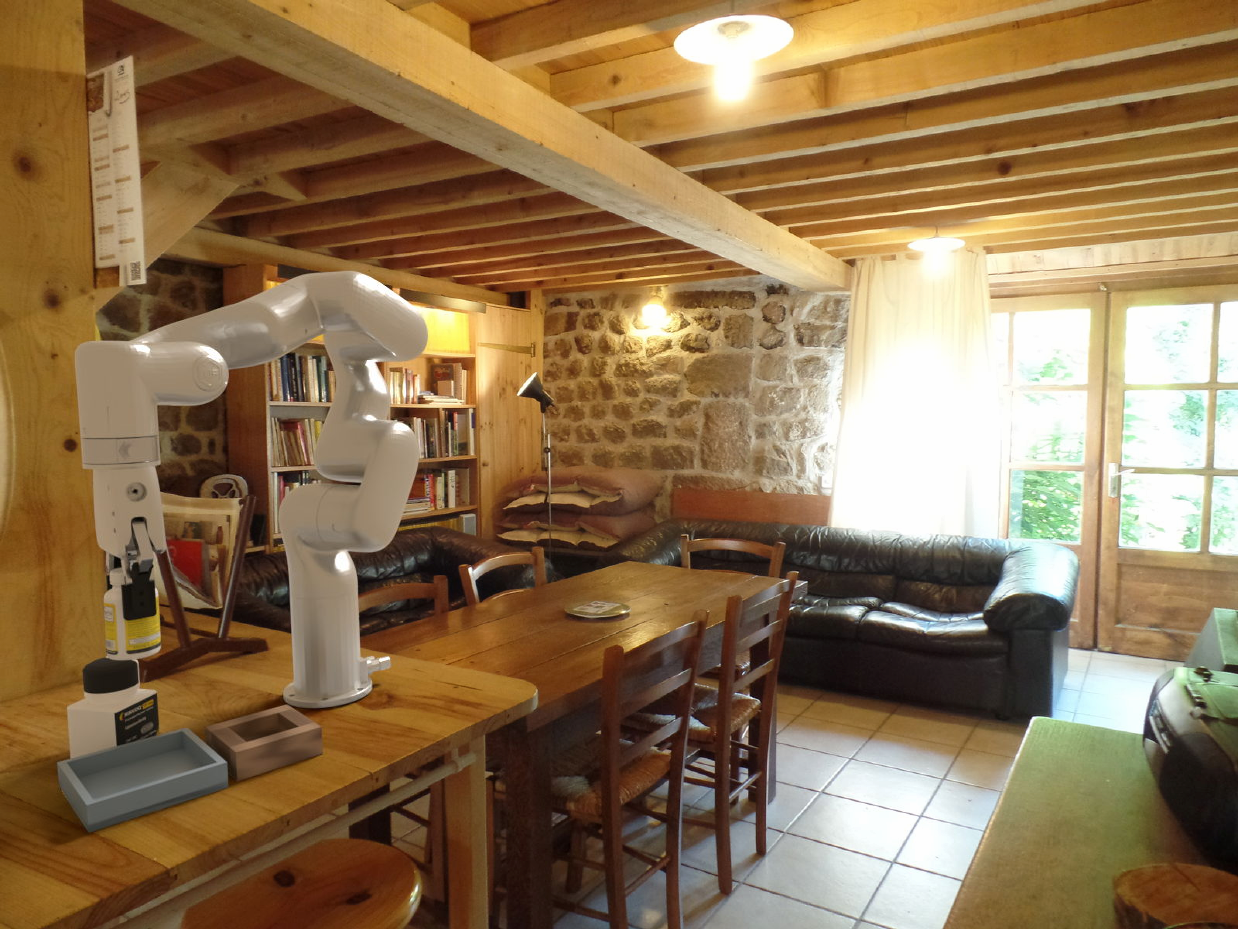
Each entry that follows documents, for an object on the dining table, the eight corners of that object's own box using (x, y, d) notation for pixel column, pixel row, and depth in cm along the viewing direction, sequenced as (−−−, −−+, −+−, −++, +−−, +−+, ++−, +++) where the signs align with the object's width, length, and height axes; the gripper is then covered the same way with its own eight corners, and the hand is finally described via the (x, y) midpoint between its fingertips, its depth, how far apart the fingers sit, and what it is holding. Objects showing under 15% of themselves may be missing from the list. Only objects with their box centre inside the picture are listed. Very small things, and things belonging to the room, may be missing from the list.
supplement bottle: (170, 646, 99) (166, 564, 98) (145, 661, 94) (141, 574, 93) (123, 647, 99) (118, 564, 98) (96, 662, 93) (91, 574, 92)
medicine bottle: (119, 767, 103) (112, 671, 102) (69, 762, 105) (62, 667, 103) (161, 742, 110) (155, 652, 109) (114, 738, 111) (108, 649, 110)
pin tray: (188, 750, 108) (186, 727, 107) (228, 787, 98) (227, 762, 97) (58, 787, 98) (57, 762, 98) (88, 833, 88) (86, 805, 88)
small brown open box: (288, 729, 114) (287, 704, 113) (322, 753, 106) (321, 726, 106) (206, 753, 106) (205, 726, 106) (237, 781, 99) (235, 752, 99)
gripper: (183, 455, 90) (193, 621, 92) (136, 447, 103) (146, 593, 104) (103, 460, 85) (115, 635, 87) (64, 451, 97) (75, 605, 99)
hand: (132, 611), depth 96 cm, fingers closed on supplement bottle, 5 cm apart
